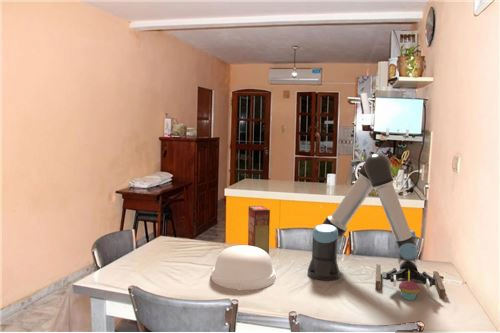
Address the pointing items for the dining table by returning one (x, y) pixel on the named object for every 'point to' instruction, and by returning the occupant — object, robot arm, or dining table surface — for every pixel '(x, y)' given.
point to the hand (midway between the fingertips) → (411, 285)
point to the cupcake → (409, 288)
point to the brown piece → (436, 276)
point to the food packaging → (258, 227)
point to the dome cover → (243, 268)
